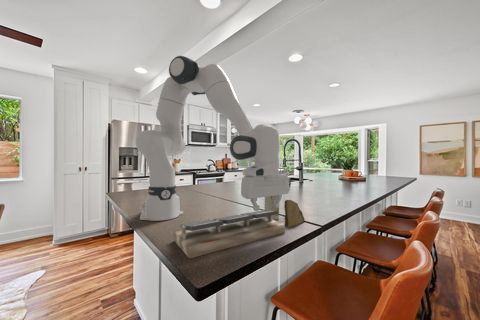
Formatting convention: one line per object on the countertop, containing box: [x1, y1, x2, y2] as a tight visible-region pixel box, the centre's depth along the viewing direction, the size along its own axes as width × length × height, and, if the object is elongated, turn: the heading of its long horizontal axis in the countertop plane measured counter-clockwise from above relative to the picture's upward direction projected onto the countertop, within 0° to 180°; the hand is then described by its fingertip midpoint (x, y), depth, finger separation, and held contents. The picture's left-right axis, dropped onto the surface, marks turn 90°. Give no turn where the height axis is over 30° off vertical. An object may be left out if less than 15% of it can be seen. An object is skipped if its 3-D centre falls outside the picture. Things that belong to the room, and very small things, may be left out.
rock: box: [283, 199, 306, 228], centre depth 85 cm, size 11×9×10 cm
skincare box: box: [264, 196, 280, 221], centre depth 91 cm, size 6×4×12 cm
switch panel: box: [173, 210, 286, 259], centre depth 71 cm, size 14×36×6 cm, turn 124°
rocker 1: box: [180, 219, 223, 231], centre depth 64 cm, size 10×10×1 cm
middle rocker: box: [212, 214, 253, 224], centre depth 71 cm, size 10×10×1 cm
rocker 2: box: [239, 210, 278, 218], centre depth 77 cm, size 10×10×1 cm
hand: (266, 208), depth 73 cm, fingers open, 8 cm apart
